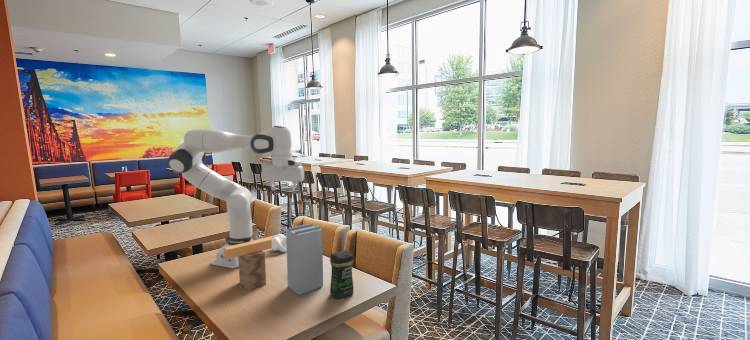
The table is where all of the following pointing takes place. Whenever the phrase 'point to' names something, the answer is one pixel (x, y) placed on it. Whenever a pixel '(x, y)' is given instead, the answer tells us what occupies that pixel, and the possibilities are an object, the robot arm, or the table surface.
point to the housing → (304, 258)
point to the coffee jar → (341, 274)
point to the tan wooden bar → (247, 248)
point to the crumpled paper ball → (279, 243)
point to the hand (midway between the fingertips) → (283, 190)
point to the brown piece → (252, 270)
